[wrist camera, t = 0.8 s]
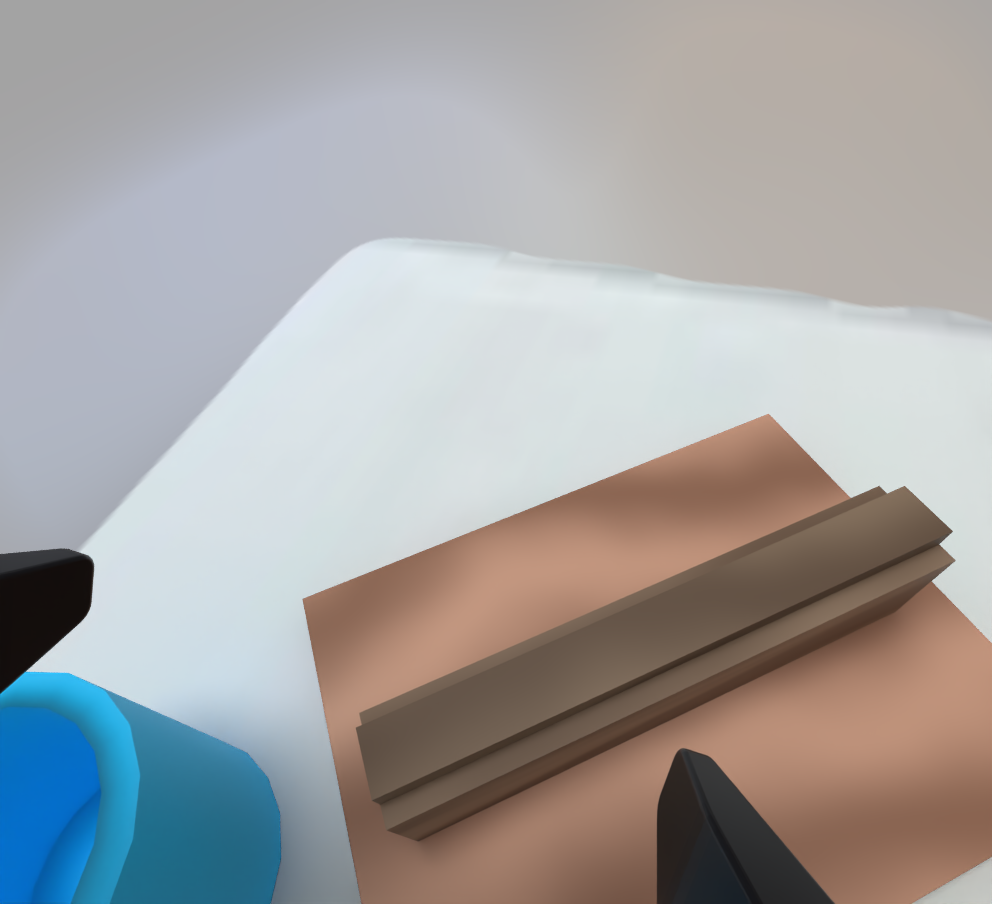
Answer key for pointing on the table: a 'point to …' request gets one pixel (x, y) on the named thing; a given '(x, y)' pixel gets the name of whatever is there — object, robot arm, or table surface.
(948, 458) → the table surface
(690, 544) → the fulcrum stand
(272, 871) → the mug
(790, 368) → the table surface
